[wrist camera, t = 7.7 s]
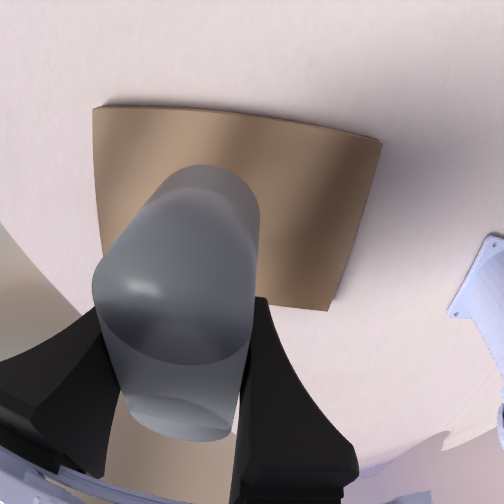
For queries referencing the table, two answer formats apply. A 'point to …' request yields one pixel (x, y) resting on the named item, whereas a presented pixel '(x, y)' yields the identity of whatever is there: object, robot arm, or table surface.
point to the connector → (183, 302)
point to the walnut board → (255, 176)
